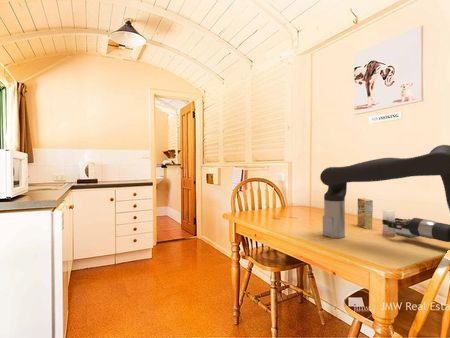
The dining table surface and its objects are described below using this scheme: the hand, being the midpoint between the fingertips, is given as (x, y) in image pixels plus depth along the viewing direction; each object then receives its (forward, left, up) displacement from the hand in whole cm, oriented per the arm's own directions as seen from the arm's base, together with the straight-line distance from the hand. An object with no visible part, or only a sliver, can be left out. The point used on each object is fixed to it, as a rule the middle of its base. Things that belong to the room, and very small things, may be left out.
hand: (389, 220), depth 127 cm
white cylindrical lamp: (0, 0, -7) cm, 7 cm away
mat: (+13, 0, -7) cm, 15 cm away
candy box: (+4, +17, -7) cm, 19 cm away
